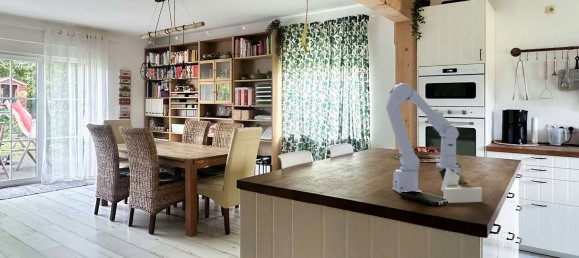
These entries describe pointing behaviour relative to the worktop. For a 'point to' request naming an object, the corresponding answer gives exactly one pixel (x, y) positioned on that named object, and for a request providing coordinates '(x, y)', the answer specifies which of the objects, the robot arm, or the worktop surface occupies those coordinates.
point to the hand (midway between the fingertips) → (447, 187)
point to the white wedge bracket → (450, 180)
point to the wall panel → (463, 195)
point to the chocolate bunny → (462, 178)
